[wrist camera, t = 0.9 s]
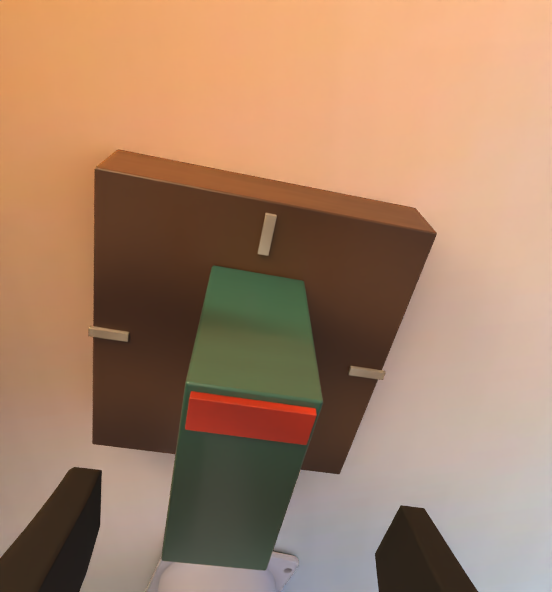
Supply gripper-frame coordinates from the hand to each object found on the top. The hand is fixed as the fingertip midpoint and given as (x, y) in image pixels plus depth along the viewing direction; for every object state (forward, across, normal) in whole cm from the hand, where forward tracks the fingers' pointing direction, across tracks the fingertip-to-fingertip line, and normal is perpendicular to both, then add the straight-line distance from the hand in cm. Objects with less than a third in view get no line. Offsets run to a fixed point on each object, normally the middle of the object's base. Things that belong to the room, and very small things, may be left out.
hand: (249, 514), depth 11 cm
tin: (+7, 0, +1) cm, 7 cm away
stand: (+10, 0, 0) cm, 10 cm away
